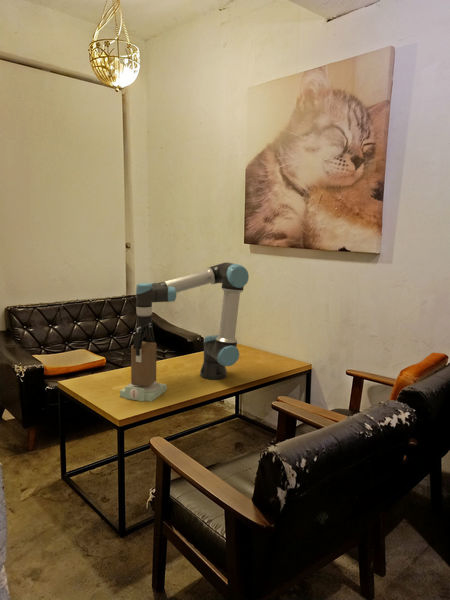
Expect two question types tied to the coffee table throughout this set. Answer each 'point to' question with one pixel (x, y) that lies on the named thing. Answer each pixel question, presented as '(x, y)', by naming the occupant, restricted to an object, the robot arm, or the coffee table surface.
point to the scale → (143, 391)
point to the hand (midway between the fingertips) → (144, 358)
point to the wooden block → (144, 365)
